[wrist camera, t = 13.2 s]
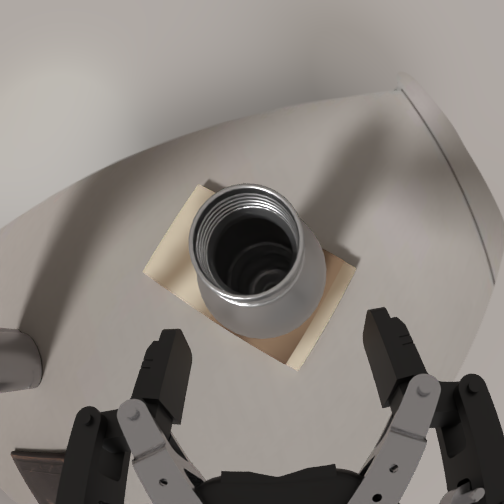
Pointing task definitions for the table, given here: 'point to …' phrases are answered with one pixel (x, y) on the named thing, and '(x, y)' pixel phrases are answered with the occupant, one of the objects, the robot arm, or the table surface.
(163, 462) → the robot arm
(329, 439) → the table surface
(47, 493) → the hardcover book
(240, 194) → the plastic bottle
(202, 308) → the board
